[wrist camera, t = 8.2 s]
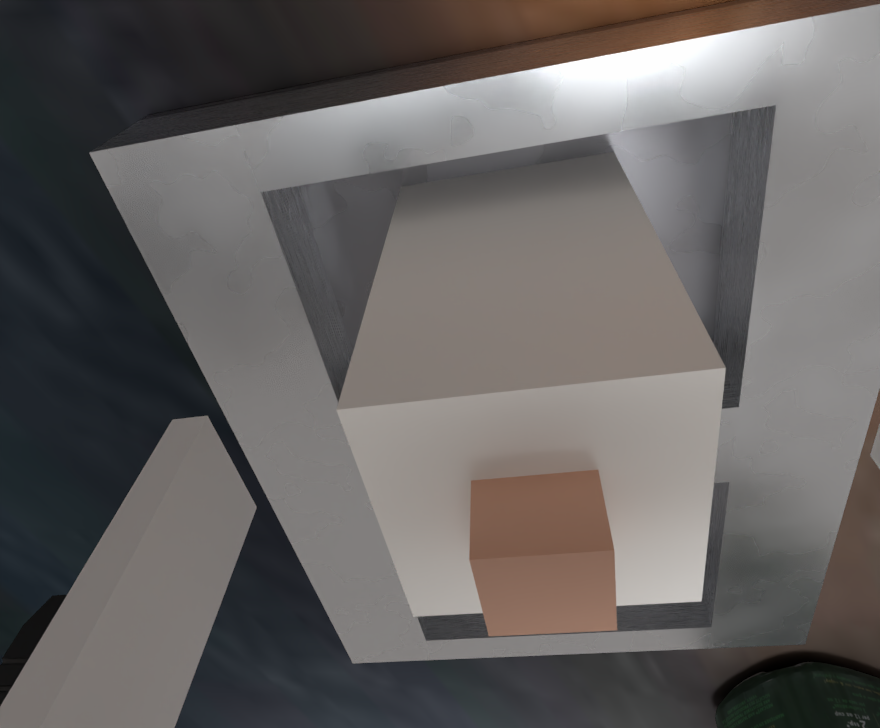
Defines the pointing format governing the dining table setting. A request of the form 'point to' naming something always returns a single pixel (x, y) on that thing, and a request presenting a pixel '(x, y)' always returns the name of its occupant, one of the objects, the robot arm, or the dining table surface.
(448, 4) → the dining table surface
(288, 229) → the socket plate
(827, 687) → the coffee jar
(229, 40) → the dining table surface
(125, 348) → the dining table surface
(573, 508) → the white rectangular block
